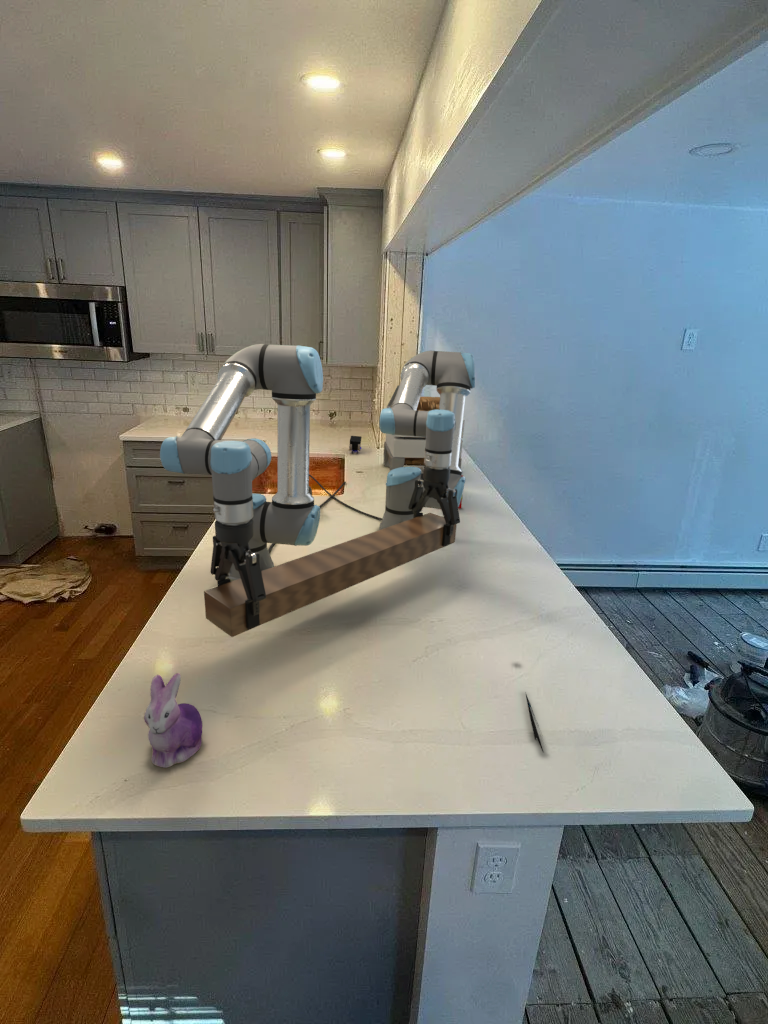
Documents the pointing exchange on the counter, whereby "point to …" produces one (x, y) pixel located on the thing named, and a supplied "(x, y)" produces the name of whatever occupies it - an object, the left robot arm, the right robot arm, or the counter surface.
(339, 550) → the wide beam
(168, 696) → the figurine
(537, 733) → the feather
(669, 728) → the counter surface
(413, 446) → the grey slatted crate
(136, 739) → the counter surface
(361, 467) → the counter surface
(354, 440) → the figurine character
